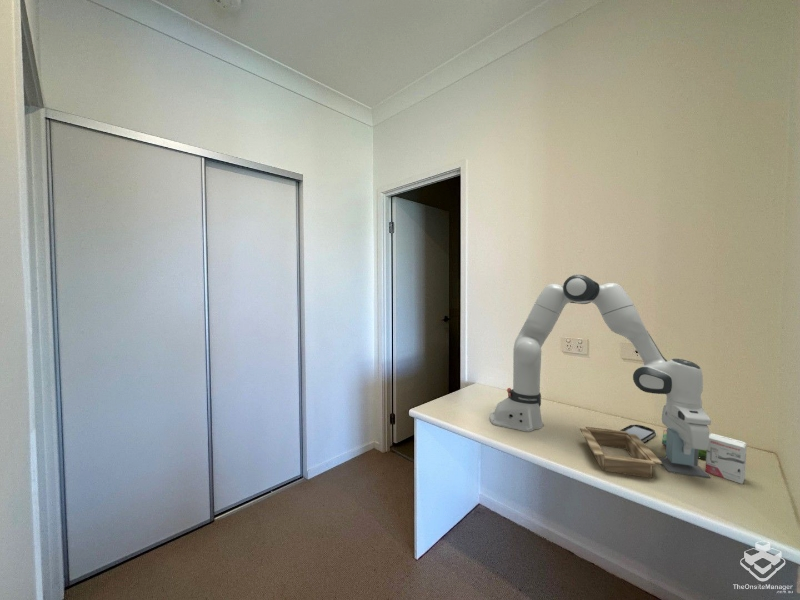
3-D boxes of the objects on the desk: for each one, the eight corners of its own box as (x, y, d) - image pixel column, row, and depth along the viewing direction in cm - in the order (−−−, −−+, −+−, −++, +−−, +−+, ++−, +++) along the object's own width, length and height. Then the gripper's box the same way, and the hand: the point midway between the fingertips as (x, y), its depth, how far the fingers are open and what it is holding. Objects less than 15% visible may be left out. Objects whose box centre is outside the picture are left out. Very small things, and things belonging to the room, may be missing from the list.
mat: (668, 472, 104) (668, 470, 104) (655, 458, 112) (655, 456, 112) (710, 478, 100) (710, 476, 100) (693, 463, 109) (693, 461, 109)
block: (671, 462, 105) (673, 433, 105) (665, 456, 109) (666, 428, 109) (697, 466, 103) (699, 436, 103) (690, 459, 107) (691, 430, 107)
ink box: (704, 471, 104) (705, 436, 104) (707, 466, 107) (708, 432, 107) (743, 484, 97) (745, 447, 97) (745, 479, 100) (746, 442, 100)
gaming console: (633, 427, 138) (634, 421, 138) (659, 435, 130) (659, 429, 130) (612, 438, 127) (612, 432, 127) (638, 448, 120) (638, 441, 120)
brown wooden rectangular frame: (664, 483, 98) (665, 465, 98) (595, 472, 103) (596, 456, 103) (633, 446, 120) (633, 432, 120) (578, 439, 126) (578, 425, 126)
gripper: (657, 397, 116) (655, 434, 117) (689, 419, 97) (687, 463, 97) (677, 399, 114) (676, 436, 115) (715, 422, 95) (712, 467, 96)
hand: (681, 449), depth 106 cm, fingers closed on block, 4 cm apart
